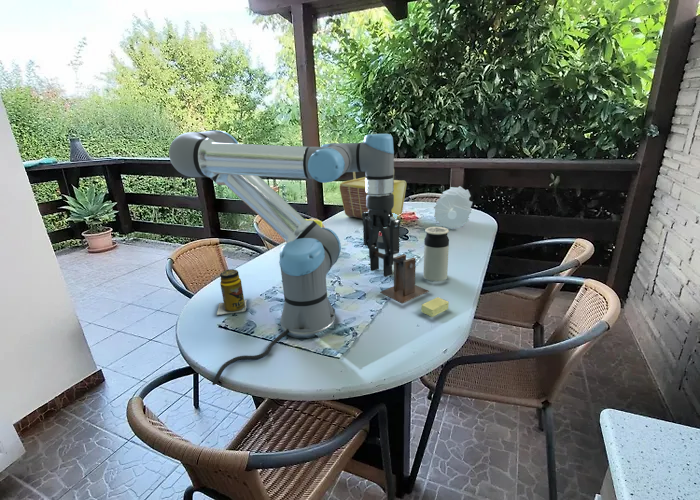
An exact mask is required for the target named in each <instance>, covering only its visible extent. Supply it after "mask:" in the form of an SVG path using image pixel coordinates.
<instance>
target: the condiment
mask: <svg viewBox="0 0 700 500" xmlns="http://www.w3.org/2000/svg"><path fill="white" fill-rule="evenodd" d="M219 276H220V283H219V284H220V289H221V295H222V301H223V302H220V303H218V307H217V312H216V316H219V315H227V314H235V313H243V312H246V311H247V299H245V297H244V291H243V290H244V289H243V285H242V279H241V278H240V274H239V271H238V270H237V269H233V268H231V269H225V270H223V271H221V272H220V274H219Z"/></svg>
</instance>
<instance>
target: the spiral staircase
mask: <svg viewBox="0 0 700 500" xmlns="http://www.w3.org/2000/svg"><path fill="white" fill-rule="evenodd" d="M471 196H472V195H471V192H470V191H469V189H465V188H463V187H462V186H461V185H459V186H458V187H455V186H450V187H449V189H446V190H444V191H442V193H441V195H440V196H439V198H438V200H437V201H436V202H435V206H433V209H434V215H433V217H434V218H435V222H436V223H438V224H439V225H440V226H441V227H443V228H447V229H451V230H454V229H459V228H463V227H464V225H465V224H466V223H468V222H469V221H470V215H471V213H472V211H473V210H472V205H473V203H474V202H473V201H471V200H470V198H471Z"/></svg>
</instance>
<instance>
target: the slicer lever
mask: <svg viewBox="0 0 700 500" xmlns="http://www.w3.org/2000/svg"><path fill="white" fill-rule="evenodd" d="M373 255H374V256H376V257H379V258H381V259H383V254H382V253H380V252H377V251H375V252H374V253H373ZM405 260H407V258H406V259H403V258H400V260H398V259H395V258H393V262H397V263H399V264H398V265H399V266H401V267H403V261H405Z"/></svg>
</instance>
